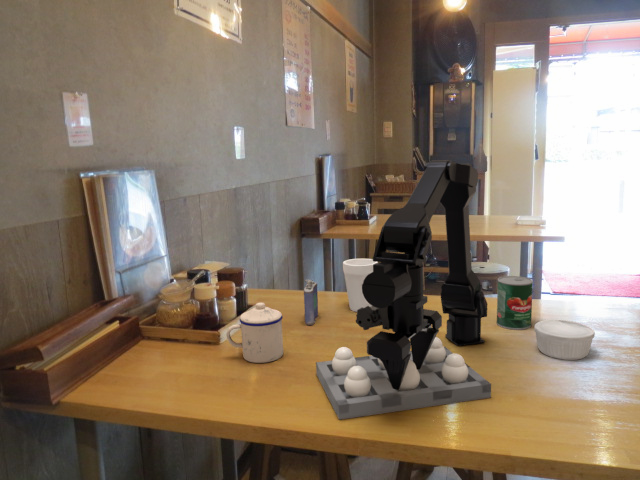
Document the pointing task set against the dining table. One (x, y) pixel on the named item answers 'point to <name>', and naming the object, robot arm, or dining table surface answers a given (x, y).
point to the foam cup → (357, 281)
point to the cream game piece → (410, 378)
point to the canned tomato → (514, 302)
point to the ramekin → (563, 339)
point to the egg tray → (379, 397)
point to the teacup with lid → (260, 334)
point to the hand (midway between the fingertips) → (407, 378)
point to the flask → (310, 302)
